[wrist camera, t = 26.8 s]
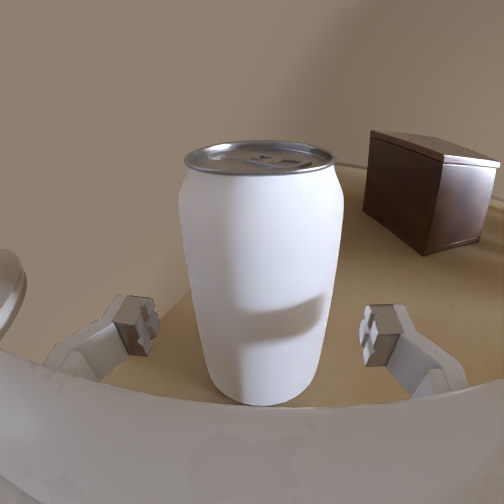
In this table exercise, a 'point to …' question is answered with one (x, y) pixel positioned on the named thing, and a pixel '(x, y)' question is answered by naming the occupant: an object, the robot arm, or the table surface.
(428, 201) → the box
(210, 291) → the can
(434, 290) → the table surface
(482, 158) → the lid
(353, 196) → the table surface
